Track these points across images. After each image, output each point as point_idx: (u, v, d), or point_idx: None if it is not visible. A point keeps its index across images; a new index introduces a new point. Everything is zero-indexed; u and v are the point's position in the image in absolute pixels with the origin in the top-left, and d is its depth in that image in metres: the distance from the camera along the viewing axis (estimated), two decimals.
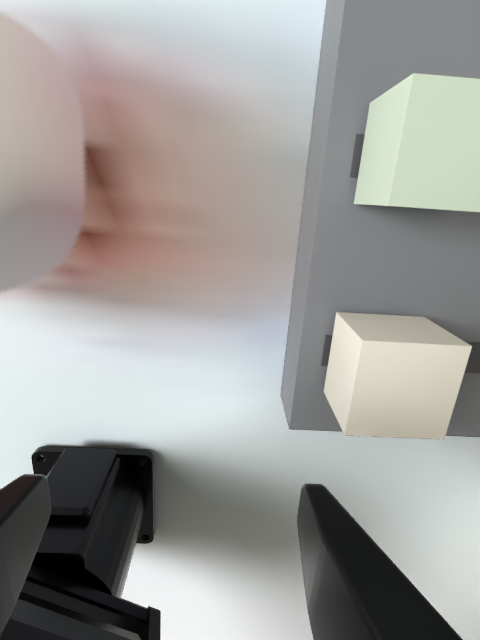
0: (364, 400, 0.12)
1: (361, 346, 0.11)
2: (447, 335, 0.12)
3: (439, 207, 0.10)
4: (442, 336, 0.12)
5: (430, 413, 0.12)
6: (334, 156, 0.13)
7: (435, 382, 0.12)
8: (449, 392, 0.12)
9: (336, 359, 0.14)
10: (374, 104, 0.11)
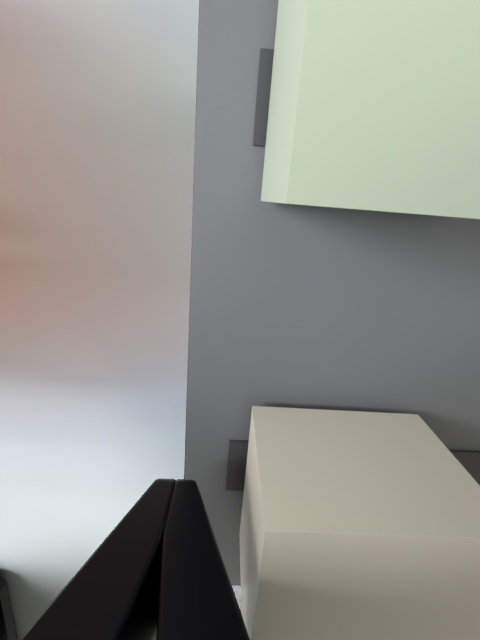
0: (281, 639, 0.05)
1: (263, 543, 0.05)
2: (465, 488, 0.06)
3: (438, 210, 0.03)
4: (456, 491, 0.06)
5: None
6: (216, 99, 0.06)
7: (439, 607, 0.05)
8: (470, 624, 0.05)
9: (247, 502, 0.07)
10: None
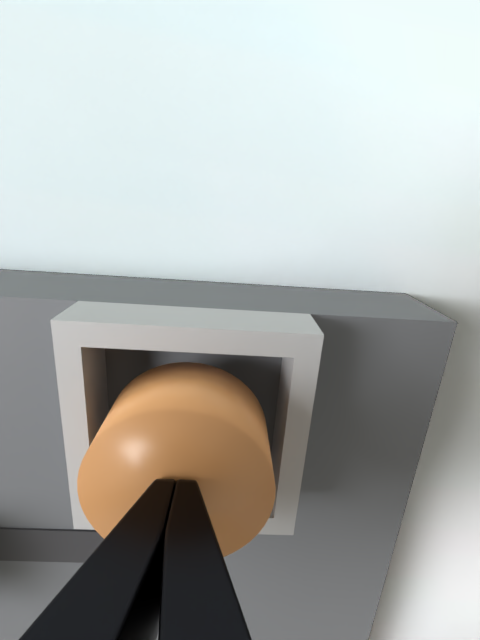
0: None
1: None
2: None
3: None
4: None
5: None
6: None
7: None
8: None
9: None
10: None
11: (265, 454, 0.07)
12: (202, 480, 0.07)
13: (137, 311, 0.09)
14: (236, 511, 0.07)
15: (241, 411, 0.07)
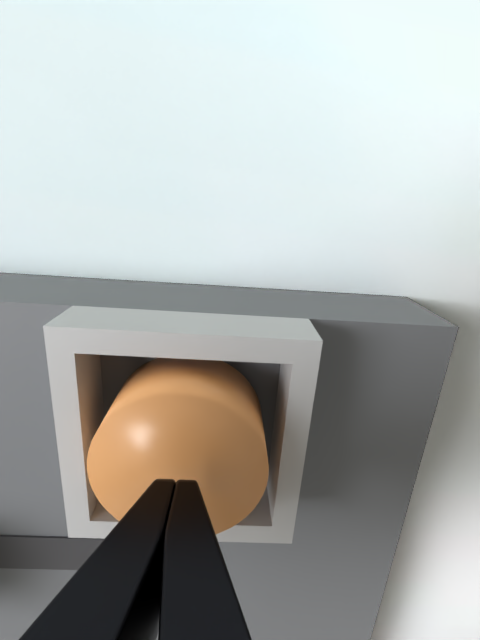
0: None
1: None
2: None
3: None
4: None
5: None
6: None
7: None
8: None
9: None
10: None
11: (259, 435, 0.08)
12: (201, 459, 0.08)
13: (132, 316, 0.09)
14: (232, 489, 0.08)
15: (237, 397, 0.08)
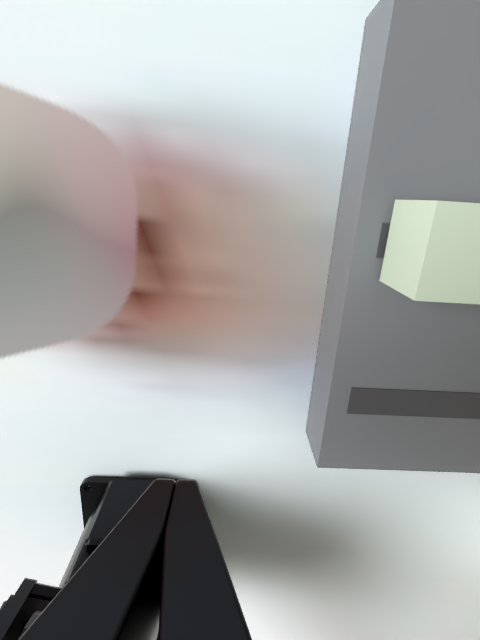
0: None
1: None
2: None
3: (457, 301, 0.12)
4: None
5: None
6: (363, 241, 0.15)
7: None
8: None
9: None
10: (399, 203, 0.13)
11: None
12: None
13: None
14: None
15: None
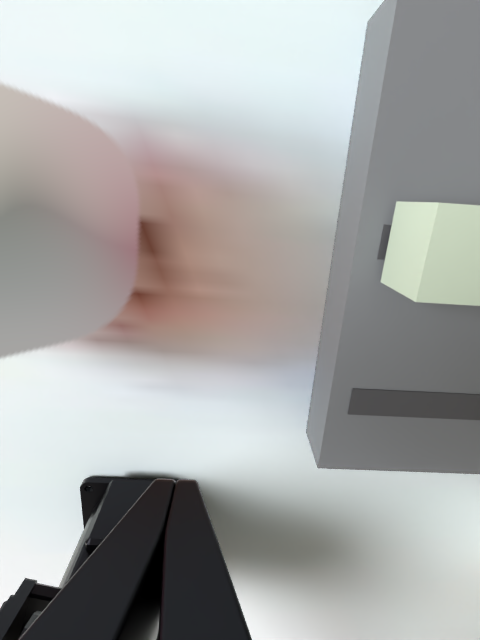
0: None
1: None
2: None
3: (458, 303, 0.12)
4: None
5: None
6: (364, 242, 0.15)
7: None
8: None
9: None
10: (401, 205, 0.13)
11: None
12: None
13: None
14: None
15: None
